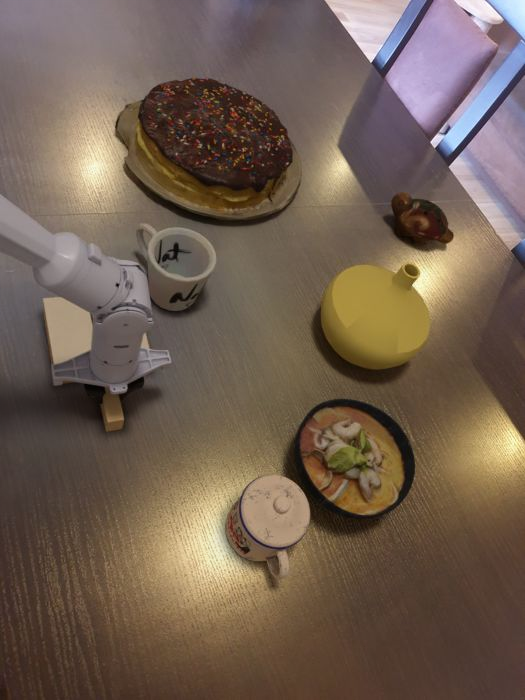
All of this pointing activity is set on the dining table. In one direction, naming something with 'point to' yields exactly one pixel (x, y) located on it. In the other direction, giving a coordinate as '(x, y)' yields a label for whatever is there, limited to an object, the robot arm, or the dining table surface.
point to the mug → (176, 265)
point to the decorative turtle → (420, 220)
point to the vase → (375, 316)
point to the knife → (111, 408)
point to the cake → (210, 150)
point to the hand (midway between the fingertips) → (108, 396)
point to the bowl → (353, 459)
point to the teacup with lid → (268, 521)
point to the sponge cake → (69, 330)
